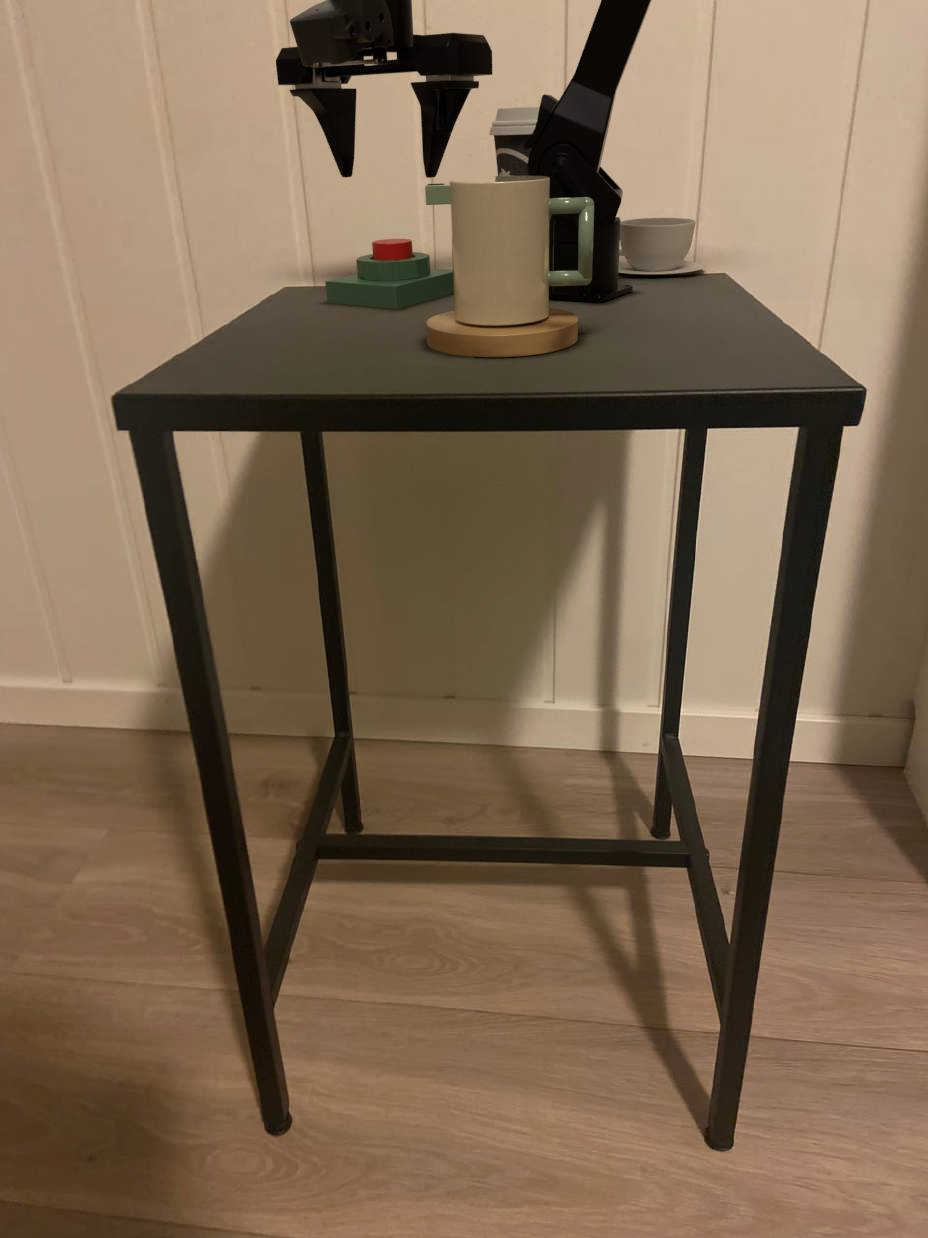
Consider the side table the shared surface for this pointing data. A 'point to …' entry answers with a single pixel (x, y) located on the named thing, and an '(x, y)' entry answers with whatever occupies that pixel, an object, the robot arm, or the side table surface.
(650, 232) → the teacup
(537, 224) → the jug
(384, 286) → the button box
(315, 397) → the side table surface
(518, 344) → the disc
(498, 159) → the coffee cup
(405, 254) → the button
